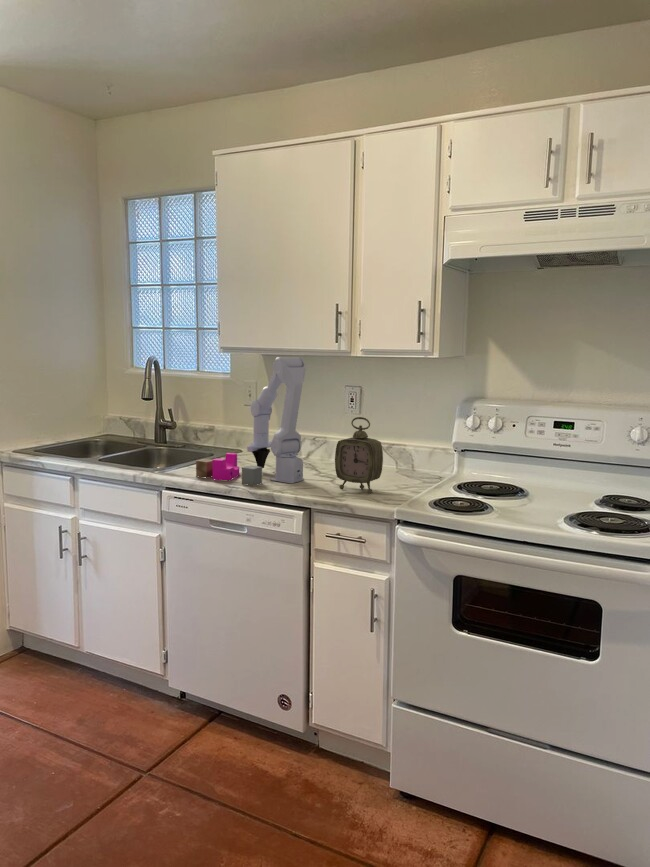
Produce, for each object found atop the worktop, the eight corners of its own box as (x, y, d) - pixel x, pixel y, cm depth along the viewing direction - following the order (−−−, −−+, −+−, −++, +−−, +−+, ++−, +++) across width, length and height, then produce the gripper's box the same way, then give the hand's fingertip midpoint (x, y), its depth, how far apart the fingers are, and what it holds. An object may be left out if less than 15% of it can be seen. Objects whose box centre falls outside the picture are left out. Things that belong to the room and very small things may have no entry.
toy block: (229, 481, 236) (229, 460, 235) (212, 480, 237) (212, 459, 236) (243, 473, 250) (243, 453, 249) (227, 472, 251) (227, 452, 250)
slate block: (261, 483, 233) (262, 466, 232) (253, 486, 228) (253, 469, 228) (250, 481, 235) (250, 465, 234) (241, 484, 231) (241, 467, 230)
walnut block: (215, 476, 243) (215, 460, 242) (206, 478, 239) (206, 462, 238) (205, 474, 246) (205, 458, 245) (196, 476, 242) (196, 460, 241)
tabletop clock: (334, 489, 226) (335, 416, 222) (347, 484, 233) (348, 414, 230) (372, 495, 218) (374, 420, 215) (384, 490, 226) (386, 417, 222)
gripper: (263, 429, 259) (263, 463, 261) (240, 433, 246) (240, 469, 248) (278, 431, 255) (278, 465, 257) (256, 435, 243) (255, 472, 245)
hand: (260, 468), depth 252 cm, fingers closed
